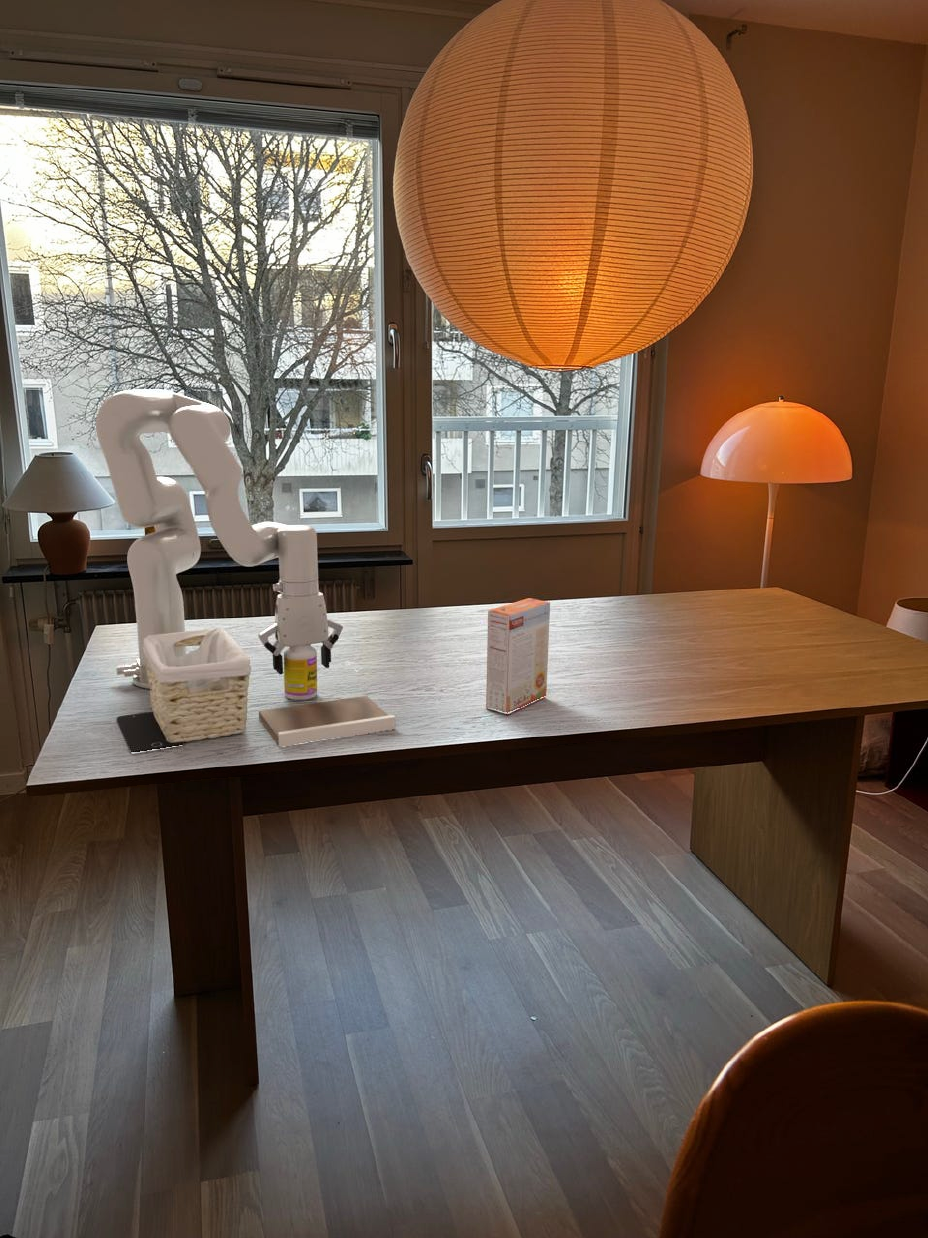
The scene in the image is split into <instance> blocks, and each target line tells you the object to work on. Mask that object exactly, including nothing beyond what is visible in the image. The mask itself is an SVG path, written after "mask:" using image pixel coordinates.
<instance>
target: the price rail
mask: <svg viewBox="0 0 928 1238" xmlns="http://www.w3.org/2000/svg"><path fill="white" fill-rule="evenodd" d="M387 715H388V716H382V717H375V718H369V719H362V720H356V721H349V722H342V723H336V724H329V725H323V726H316V727H310V728H303V729H297V730H290V731H284V732H278V737H279V745H280V746H279V745H278V746H279V748H280V747H282V748H284V747H283V746H289V745H294V744H299V743H305V742H310V741H316V740H322V739H330V738H337V737H345V738H350V737H349V736H351V737H356V736H355V735H357V736H362V735H369V734H368V733H370V734H375V732H376V733H380V731H382V732H386V731H385V730H388V731H393V730H392V729H394V730H396V716H395V715H394V714H387ZM289 747H290V746H289Z"/></svg>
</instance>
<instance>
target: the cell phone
mask: <svg viewBox="0 0 928 1238" xmlns="http://www.w3.org/2000/svg"><path fill="white" fill-rule="evenodd" d="M116 721H117V724H118V726H120V727H119V729H120V732H121V733H122V735H124V736H123V738H124V737H125V738H124V740H125V739H126V740H125V742H126V741H127V743H126V745H127V744H128V745H127V747H128V746H129V747H128V749H129V748H130V749H129V751H130V750H131V752H140V751H147V750H152V749H160V748H166V747H172V746H179V745H183V744H184V741H183V742H175V743H170V742H168V741H167V740H166V739H167V738H166V737H165V735H164V733H163V731H162V730H161V728H160V726H159V724H158V722H157V721H156V718H155V716H154V712H153V711H147V712H139V713H132V714H125V715H120V716H117V717H116ZM131 752H130V753H131Z"/></svg>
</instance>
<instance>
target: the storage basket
mask: <svg viewBox="0 0 928 1238" xmlns="http://www.w3.org/2000/svg"><path fill="white" fill-rule="evenodd" d="M143 642H144V644H143V650H144V653H145V656H146V657H147V668H148V671H147V674H148V678H149V679H148V681H149V687H150V689H149V690H150V691H149V696H150V705H151V710H152V712H154V716H155V718H156V721H157V722H158V724H159V726H160V728H161V730H162V731H163V733H164V735H165V737H166V738H167V739H166V740H167V741H168V742H170V743H175V742H183V743H184V742H186V743H188V742H192V741H201V740H205V739H216V738H219V737H227V736H228V737H229V736H232V735H238V734H242V733H244V732H245V731H246V730H247V725H246V724H247V717H248V715H247V714H248V702H249V701H248V700H249V698H248V695H249V691H248V689H249V686H250V678H251V677H250V675H251V672H252V671H251V670H252V668H251V665H250V664H251V660H250V658H249V656H248V655H247V654H246V652H245V651H244V650H243V649H242V648H241V646H239V644H238V643H237V642H236V641H235V640H234V639H233V637H232V636H231V635H230V634H229V633H228V632H227V631H226V630H225V629H224V628H222V627H220V628H219V627H216V628H212V629H211V628H210V629H200V630H199V629H196V630H187V631H186V630H185V632H176V633H167V634H157V635H148V636H147V637H146V638H145V639H144V641H143ZM183 646H186V647H195V646H196V647H197V646H199V647H198V648H196V649H194V650H193V651H189V653H186V655H184V656H180V657H176V655H175V651H174V647H183Z"/></svg>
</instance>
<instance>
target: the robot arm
mask: <svg viewBox="0 0 928 1238" xmlns="http://www.w3.org/2000/svg"><path fill="white" fill-rule="evenodd" d="M231 428H232V427H231V423H230V420H229V418H228V416H227V415H226V413H225V412H224V411H223V410H222V409H221V408H219V407H217V406H215V405H213V404H210V403H207V402H203V401H200V400H197V399H195V398H191V397H188V396H185V395H183V394H180V393H176V392H173V391H170V390H165V389H129V390H123V391H119V392H116V393H115V394H112V395H110V396H109V397H108V398H107V399H106V400H105V401H104V402H103V403H102V404H101V406H100V407H99V409H98V412H97V415H96V420H95V431H96V437H97V439H98V443H99V446H100V449H101V450H102V454H103V456H104V458H105V463H106V465H107V467H108V469H107V470H108V471H109V476H110V479H111V480H110V481H111V483H112V487H113V491H114V493H115V498H116V500H117V504H118V507H119V511H120V513H121V515H122V516H121V517H122V519H123V520H124V522H126V523H127V524H128V525H129V526H131V527H133V528H136V529H143V528H149V527H154V530H155V531H154V532H151V533H147V534H145V535H142V536H140V537H139V538H137V539H136V540H135V541H133V542H132V544H131V545H130V547H129V548H128V551H127V557H126V559H127V561H126V562H127V567H128V571H129V575H130V578H131V583H132V588H133V593H134V594H133V596H134V607H135V615H136V616H135V617H136V619H135V620H136V630H137V645H138V658H136V659H135V660H136V662H132V663H131V664H128V665H125V664H124V665H123V664H122V665H116V667H115V668H116V669H115V671H116V676H122V675H124V678H126V677H132V682H133V684H134V685H135V686H136V687H139V688H143V689H148V690H151V689H150V687H149V681H148V679H149V678H148V674H147V671H148V668H147V657H146V656H145V653H144V650H143V644H144V642H143V641H144V639H145V638H146V637H147V636H148V635H157V634H167V633H176V632H185V631H186V627H185V625H186V624H185V609H184V598H183V597H184V596H183V592H182V589H181V587H180V584H179V581H178V579H177V574H179V573H182V572H185V571H187V570H189V569H191V568H193V567H194V566H196V564H197V563H198V561H199V560H200V557H201V554H202V553H201V552H202V547H201V539H200V537H199V532H198V528H197V525H196V521H195V517H194V514H193V510H192V507H191V502H190V499H189V497H188V495H187V493H186V491H185V490H184V488H183V487H182V485H181V484H180V483H179V482H178V481H176V480H175V479H173V478H170V477H168V476H167V477H165V476H157V474H156V473H157V472H156V471H155V467H154V463H153V459H152V456H151V455H150V452H149V451H148V449H147V447H146V446H145V445H144V443H143V442H142V440H141V439H140V436H141V435H143V434H153V433H165V434H169V436H170V438H171V440H172V441H173V443H174V444H175V446H176V448H177V450H178V451H179V452H180V454H181V456H182V457H183V459H184V461H185V462H186V464H187V465H188V467H189V468H190V470H191V471H192V474H193V475H194V476H195V478H196V479H197V481H198V483H199V484H200V486H201V487H202V489H203V491H204V496H205V497H204V498H205V506H206V511H207V515H208V520H209V523H210V526H211V528H212V531H213V532H214V533H215V536H216V537H217V539H218V541H219V542H220V543H221V545H222V547H223V549H224V550H225V551H226V552H227V554H228V555H229V557H230V558H232V560H233V561H234V562H235V563H238V565H242V566H243V567H255V566H259V565H261V564H262V563H265V562H267V561H271V560H274V559H278V565H279V566H278V568H279V579H278V583H275V584H272V589H273V592H279V593H280V594H277V597H276V601H275V612H274V623H273V624H272V625H271V626H269V627H267V628H266V629H264V630H263V631H261V632H259V633H258V635H257V637H258V639H259V641H260V642H261V644H262V646H263V647H264V648H265V649H267V650H268V652H270V653H271V654H272V666H273V667H272V669H274V671H276V673H277V674H278V675H284V656H283V655H282V654H281V653H282V651H283V650H285V647H286V648H287V647H291V646H300V645H308V644H311V645H315V644H322V645H321V646H320V659H321V660H320V661H321V662H320V664H321V665H322V666H323V667H324V668H326V669H330V663H331V662H332V651H331V650H332V649H333V647H334V645H335V644H336V643H337V642H338V640H339V638H340V635H341V633H342V631H343V628H344V627H343V625H342V624H340V623H338V622H335V621H332V620H331V619H328V614H327V613H328V612H327V608H326V607H327V606H326V600H325V596H324V594H323V592H320V590H319V567H318V566H319V562H318V536H317V531H316V529H315V528H314V527H313V526H310V525H307V524H306V525H305V524H292V525H289V524H283V523H279V522H274V521H263V522H259V523H255V524H251V522H250V520H249V519H248V518H247V515H246V514H245V512H244V511H243V508H242V505H241V502H240V498H239V487H240V484H241V479H242V478H243V468H242V466H241V465H240V463H239V462H238V461H237V459H236V457H235V456H234V454H233V452H232V451H231V449H230V447H229V446H228V444H227V443H226V442H227V441H229V438H230V436H231V432H232V429H231ZM329 628H330V629H333V630H332V633H331V634H330V635H329ZM273 635H274V637H275V640H276V641H274V643H273V644H272V643H270V641H269V639H268V638H269V637H271V636H273ZM174 651H175V655H176V657H180V656H184V655H186V654H187V646H183V647H174Z"/></svg>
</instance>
